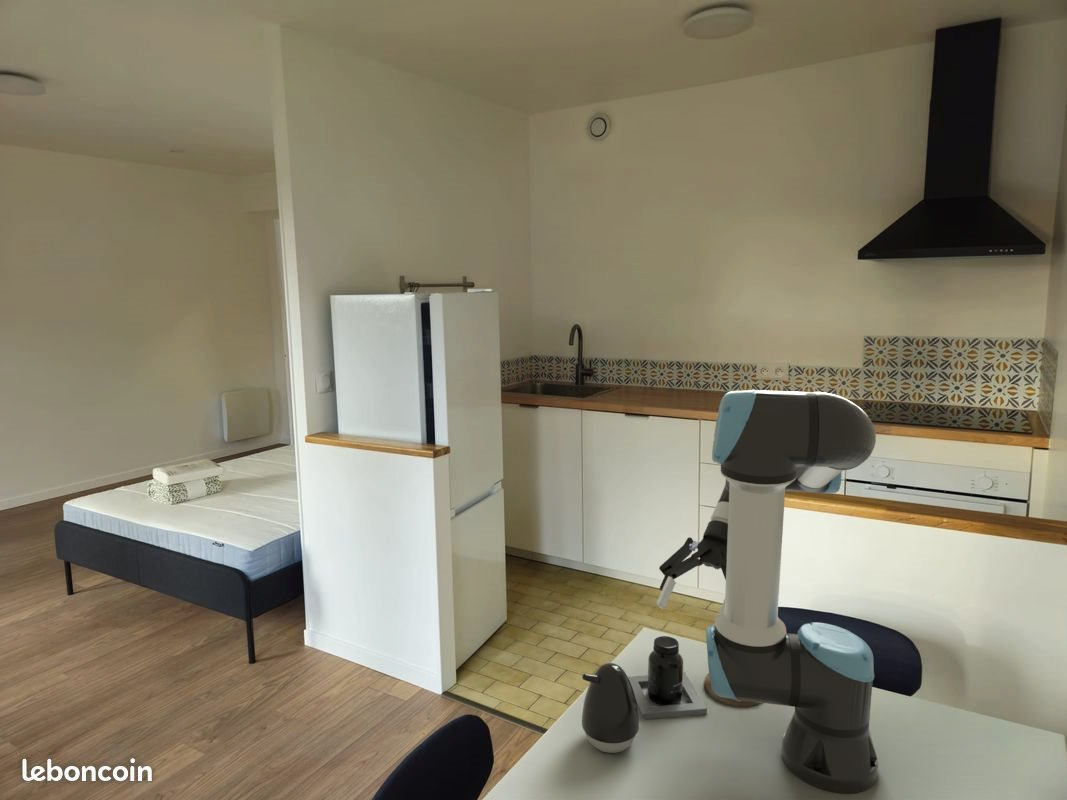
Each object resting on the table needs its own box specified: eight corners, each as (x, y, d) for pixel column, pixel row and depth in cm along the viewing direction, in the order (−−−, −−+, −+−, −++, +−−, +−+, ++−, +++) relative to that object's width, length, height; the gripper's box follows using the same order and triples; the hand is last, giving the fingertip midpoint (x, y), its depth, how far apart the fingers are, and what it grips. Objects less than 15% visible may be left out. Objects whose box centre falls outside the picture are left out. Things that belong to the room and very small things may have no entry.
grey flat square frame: (706, 714, 133) (707, 708, 132) (642, 719, 131) (642, 714, 131) (684, 677, 145) (685, 672, 145) (626, 682, 143) (626, 677, 143)
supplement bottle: (682, 710, 134) (684, 652, 132) (646, 706, 135) (647, 649, 133) (682, 689, 141) (683, 634, 139) (648, 686, 142) (649, 631, 140)
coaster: (776, 703, 136) (777, 699, 135) (717, 708, 134) (717, 704, 134) (750, 670, 147) (750, 666, 147) (696, 674, 146) (696, 670, 146)
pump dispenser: (572, 731, 128) (572, 655, 125) (624, 720, 131) (624, 646, 128) (593, 767, 118) (593, 686, 116) (648, 755, 121) (650, 675, 119)
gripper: (786, 550, 145) (750, 644, 136) (682, 523, 161) (644, 605, 153) (776, 533, 140) (738, 629, 132) (670, 507, 157) (630, 591, 149)
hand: (688, 617), depth 142 cm, fingers open, 13 cm apart
